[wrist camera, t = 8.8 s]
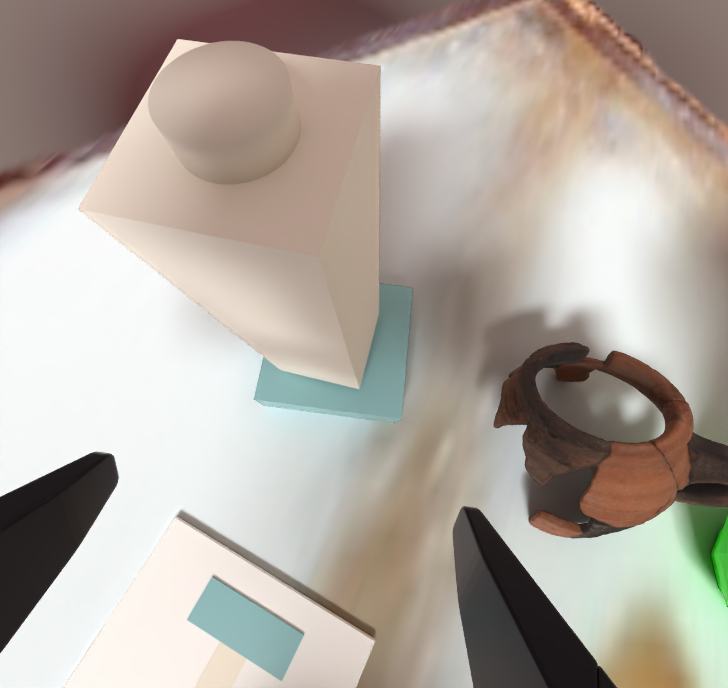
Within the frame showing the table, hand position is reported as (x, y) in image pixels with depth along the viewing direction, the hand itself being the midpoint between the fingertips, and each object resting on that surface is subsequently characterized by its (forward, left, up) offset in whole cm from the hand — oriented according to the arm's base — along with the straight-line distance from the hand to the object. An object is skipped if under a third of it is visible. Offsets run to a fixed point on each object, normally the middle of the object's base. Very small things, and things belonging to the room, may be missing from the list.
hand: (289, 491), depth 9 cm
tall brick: (+4, -6, -8) cm, 11 cm away
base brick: (+4, -6, -12) cm, 14 cm away
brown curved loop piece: (-11, -10, -11) cm, 19 cm away
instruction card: (-2, +10, -11) cm, 15 cm away
